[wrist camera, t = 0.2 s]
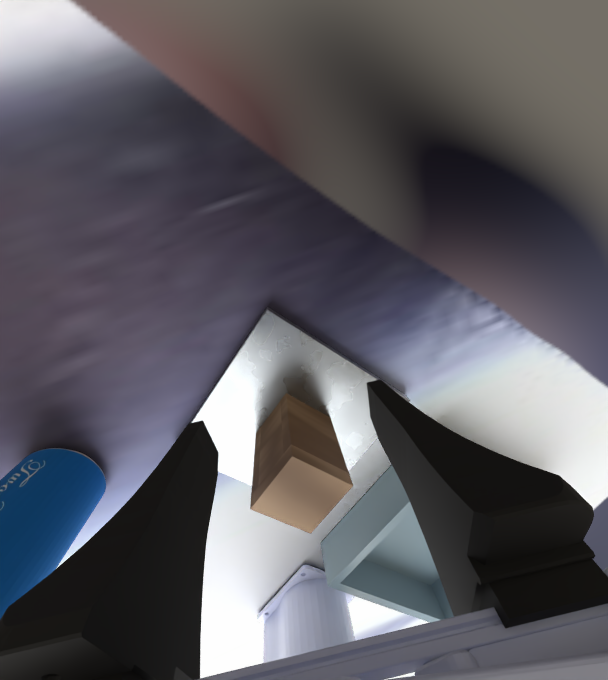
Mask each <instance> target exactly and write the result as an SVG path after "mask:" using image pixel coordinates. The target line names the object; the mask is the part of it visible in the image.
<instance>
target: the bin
mask: <svg viewBox="0 0 608 680" xmlns="http://www.w3.org/2000/svg"><path fill="white" fill-rule="evenodd" d="M321 549H322V555H323V561H324V567H325V573H326V579H327V585H328V587H331V588H334V589H336V590H339V591H342V592H345V593H348V594H351V595H353V596H356V597H359V598H362V599H365V600H368V601H371V602H373V603H376V604H379V605H382V606H385V607H388V608H390V609H393V610H396V611H399V612H402V613H405V614H407V615H410V616H413V617H416V618H419V619H422V620H425V621H427V622H430V623H431V622H435V621H439V620H443V619H447V618H451V617H454V616H453V613H452V610H451V607H450V605H449V602H448V599H447V596H446V594H445V591H444V588H443V585H442V583H441V580H440V577H439V575H438V572H437V569H436V567H435V564H434V561H433V559H432V556H431V553H430V551H429V548H428V546H427V543H426V541H425V538H424V535H423V533H422V530H421V528H420V525H419V523H418V520H417V518H416V515H415V513H414V510H413V508H412V506H411V503H410V501H409V498H408V496H407V494H406V491H405V489H404V487H403V485H402V483H401V481H400V479H399V477H398V475H397V474H396V472H395V470H394V468H393V466H392V465H391V466H390V467H389V468H388V469H387V470H386V471H385V473H384V474H383V475H382V476H381V477H380V478H379V479H378V480H377V481H376V483H375V484H374V485H373V486H372V487H371V488H370V489H369V490H368V491H367V492H366V494H365V495H364V496H363V497H362V498H361V499H360V500H359V501H358V502H357V503H356V505H355V506H354V507H353V508H352V509H351V510H350V511H349V512H348V513H347V514H346V516H345V517H344V518H343V519H342V520H341V521H340V522H339V523H338V524H337V525H336V527H335V528H334V529H333V530H332V531H331V532H330V533H329V534H328V535H327V537H326V538H325V539H324V540H323V541H322V542H321Z"/></svg>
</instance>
